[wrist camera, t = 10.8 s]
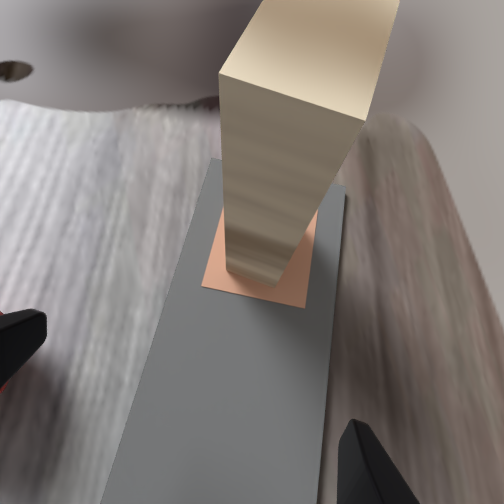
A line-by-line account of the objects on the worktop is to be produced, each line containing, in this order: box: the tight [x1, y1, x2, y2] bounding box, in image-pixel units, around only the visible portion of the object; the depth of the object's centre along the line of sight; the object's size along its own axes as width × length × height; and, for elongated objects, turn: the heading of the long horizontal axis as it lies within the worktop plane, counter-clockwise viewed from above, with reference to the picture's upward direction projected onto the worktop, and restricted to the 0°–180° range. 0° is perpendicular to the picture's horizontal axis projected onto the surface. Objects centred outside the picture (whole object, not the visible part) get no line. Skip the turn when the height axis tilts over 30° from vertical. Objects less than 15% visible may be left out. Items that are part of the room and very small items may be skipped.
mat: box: [100, 158, 346, 504], centre depth 17 cm, size 22×10×1 cm, turn 169°
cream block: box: [219, 0, 400, 288], centre depth 13 cm, size 5×3×13 cm, turn 160°
